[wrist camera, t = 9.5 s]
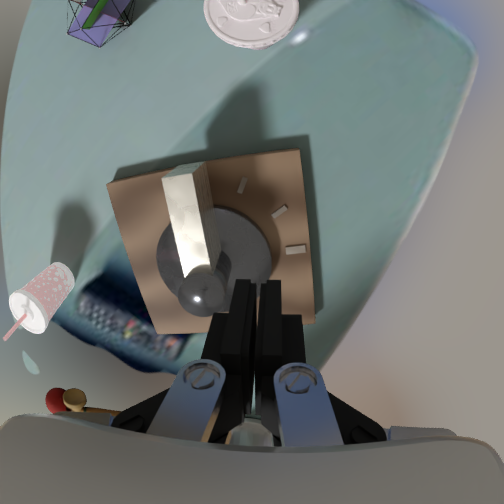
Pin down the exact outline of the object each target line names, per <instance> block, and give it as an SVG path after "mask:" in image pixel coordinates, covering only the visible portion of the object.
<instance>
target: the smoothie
mask: <svg viewBox="0 0 504 504" xmlns="http://www.w3.org/2000/svg"><path fill="white" fill-rule="evenodd" d="M204 14H205V18H206V20H207V22H208V24H209V26H210V28H211V29H212V30H213V32H214V33H215V34H216V35H217V36H218V37H219V38H221V39H222V40H224V41H225V42H227V43H229V44H232V45H235V46H237V47H244V48H250V49H254V50H262V49H266V48H268V47H270V46H271V45H273V44H274V43H276V42H278V41H279V40H281V39H283V38H284V37H285V36H286V35H287V34H288V33H289V32H290V31H291V30H292V29H293V27H294V25H295V24H296V22H297V19H298V14H299V1H298V0H205V1H204Z"/></svg>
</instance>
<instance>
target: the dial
mask: <svg viewBox="0 0 504 504" xmlns="http://www.w3.org/2000/svg"><path fill="white" fill-rule="evenodd" d="M161 179H162V183H163V188H164V193H165V197H166V202H167V206H168V211H169V215H170V219H171V222H170V224H169V225H168V226H167V227H166V229H165V230H164V231H163V233H162V235H161V237H160V239H159V242H158V245H157V252H156V260H157V266H158V270H159V273H160V276H161V278H162V280H163V281H164V283H165V284H166V286H167V287H168V289H169V290H170V291H171V292H172V293H173V294H174V295H175V296H176V297H177V298H178V300H179V303H180V305H181V306H182V307H183V308H184V309H185V310H186V311H187V312H188V313H190V314H192V315H195V316H198V317H209V316H213V313H214V312H229V309H230V304H231V299H232V295H233V290H234V285H235V281H236V279H251V283H256V286H257V298H258V297H259V296H260V287H261V283H267V280H269V279H270V275H271V268H272V254H271V249H270V245H269V242H268V240H267V238H266V236H265V234H264V232H263V231H262V229H261V228H260V227H259V226H258V225H257V223H256V222H255V221H253V220H252V219H251V218H250V217H249V216H247V215H246V214H244V213H242V212H240V211H238V210H236V209H234V208H231V207H228V206H223V205H216V204H213V201H212V196H211V190H210V184H209V179H208V173H207V167H206V161H202V162H196V163H189V164H183V165H179V166H177V167H176V168H175V169H173V170H172V171H171V172H169V173H168V174H166V175H165V176H164V177H162V178H161Z"/></svg>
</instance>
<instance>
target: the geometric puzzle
mask: <svg viewBox="0 0 504 504" xmlns="http://www.w3.org/2000/svg"><path fill="white" fill-rule="evenodd" d="M68 1H69V0H68ZM71 1H74V2H76V3H79V4H80V5H81V0H71ZM130 1H131V0H87V2H82V3H85V5H84V6H83V7H82V5H83V4H82V5H81V7H82V9H81V11H80V13H79V14H78V16H77V18H76V19H75V21H74V23H73V24H72V26H71V25H70V26H71V28H70V27H69V30H68V32H67V33H66V34H68V35H71V36H73V37H76V38H78V39H80V40H83V41H85V42H87V43H90V44H92V45H94V46H97V47H99V48H100V47H102V46H103V45H102V43H103V42H104V40H105V38H106V37H107V35H108V34H109V32H110V30H111V29H112V28H115V27H113V26H114V25H116V24H115V23H116V21H117V20H119V19H118V18H119V17H120V16H121V14H122V12H123V11H124V9H125V8H126V6H127V5H128V3H129V2H130ZM133 1H134V0H133ZM69 3H70V1H69ZM132 4H133V2H132ZM134 5H135V3H134ZM70 6H71V4H70ZM78 7H79V5H78ZM131 7H132V5H131ZM71 8H72V6H71ZM77 9H78V8H77ZM130 9H131V8H130ZM72 10H73V9H72ZM133 10H134V8H133ZM76 11H77V10H76ZM129 12H130V10H129ZM73 13H74V11H73ZM124 13H125V11H124ZM75 14H76V12H75V13H74V16H75ZM125 15H126V13H125ZM128 15H129V13H128ZM132 16H133V14H132ZM75 17H76V16H75ZM126 17H127V19H128V16H127V15H126ZM67 18H68V13H67ZM121 18H122V19H123V17H122V16H121ZM73 19H74V17H73ZM127 19H126V21H127ZM72 21H73V20H72ZM120 21H121V20H120ZM123 21H124V19H123ZM123 21H122V22H123ZM128 21H129V19H128ZM131 22H132V20H131ZM71 23H72V22H71ZM129 23H130V21H129ZM117 24H123V25H124V24H128V23H126V22H125V21H124V23H117ZM123 25H122V26H123ZM122 26H116V27H120V28H121V27H122ZM124 26H128V27H129V26H131V23H130V24H128V25H124ZM120 28H119V29H120ZM119 29H118V30H119ZM125 29H126V28H125ZM125 29H124V30H125ZM118 30H117V31H118ZM117 31H116V32H117ZM116 32H115V33H116ZM121 32H122V31H121ZM115 33H114V34H115ZM118 34H119V33H118ZM118 34H117V35H118ZM114 37H115V36H114ZM114 37H113V38H114ZM110 40H111V39H110ZM110 40H109V41H110ZM106 43H107V42H106ZM106 43H105V44H106ZM101 45H102V46H101Z"/></svg>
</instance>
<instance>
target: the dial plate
mask: <svg viewBox="0 0 504 504" xmlns="http://www.w3.org/2000/svg"><path fill="white" fill-rule="evenodd" d="M206 167H207V173H208V179H209V184H210V190H211V196H212V201H213V204H216V205H223V206H228V207H231V208H234V209H236V210H238V211H240V212H242V213H244V214H246V215H247V216H249V217H250V218H251V219H252V220H253V221H255V222H256V223H257V225H258V226H259V227H260V228H261V229H262V231H263V232H264V234H265V236H266V238H267V240H268V242H269V245H270V249H271V254H272V268H271V275H270V279H269V280H281V294H282V314H301V315H302V323H303V325H306V324H315V306H314V291H313V277H312V265H311V253H310V241H309V230H308V220H307V210H306V201H305V192H304V183H303V174H302V166H301V158H300V150H299V148H292V149H284V150H276V151H268V152H261V153H254V154H247V155H240V156H233V157H227V158H221V159H215V160H209V161H206ZM175 168H176V167H172V168H167V169H162V170H157V171H153V172H148V173H143V174H139V175H135V176H130V177H126V178H122V179H118V180H114V181H111V182H110V183H108V184H106V185H107V189H108V193H109V196H110V200H111V203H112V207H113V210H114V213H115V217H116V220H117V223H118V227H119V230H120V233H121V236H122V239H123V242H124V245H125V248H126V251H127V254H128V257H129V260H130V263H131V266H132V269H133V272H134V274H135V277H136V280H137V283H138V285H139V288H140V291H141V294H142V296H143V299H144V301H145V304H146V307H147V309H148V312H149V314H150V317H151V319H152V322H153V324H154V327H155V329H156V331H157V334H179V333H203V332H208V330H209V327H210V323H211V320H212V316H209V317H198V316H195V315H192V314H190V313H188V312H187V311H186V310H185V309H184V308H183V307H182V306H181V305H180V303H179V300H178V298H177V297H176V296H175V295H174V294H173V293H172V292H171V291H170V290H169V289H168V287H167V286H166V284H165V283H164V281H163V280H162V278H161V276H160V273H159V270H158V266H157V260H156V252H157V245H158V242H159V239H160V237H161V235H162V233H163V231H164V230H165V229H166V227H167V226H168V225H169V224H170V222H171V219H170V215H169V211H168V206H167V202H166V197H165V193H164V188H163V183H162V179H161V178H162V177H164V176H165V175H166V174H168V173H169V172H171V171H172V170H173V169H175ZM259 299H260V296H259V297H258V298H257V322H258V310H259ZM218 313H229V312H218Z"/></svg>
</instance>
